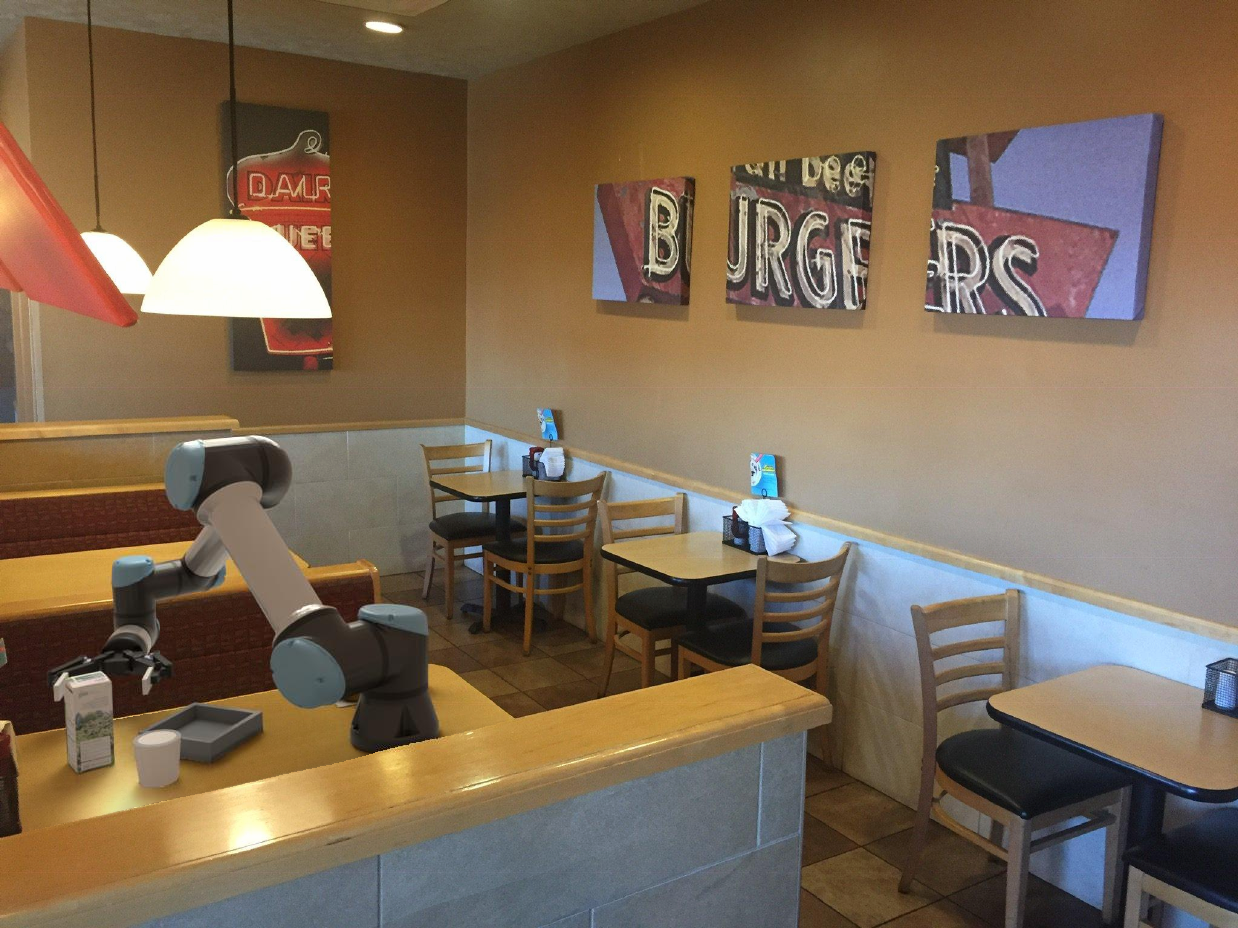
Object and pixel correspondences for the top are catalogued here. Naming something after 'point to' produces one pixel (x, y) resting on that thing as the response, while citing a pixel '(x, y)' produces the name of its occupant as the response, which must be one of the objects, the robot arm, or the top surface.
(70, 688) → the syrup box
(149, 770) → the white cup
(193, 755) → the tray
